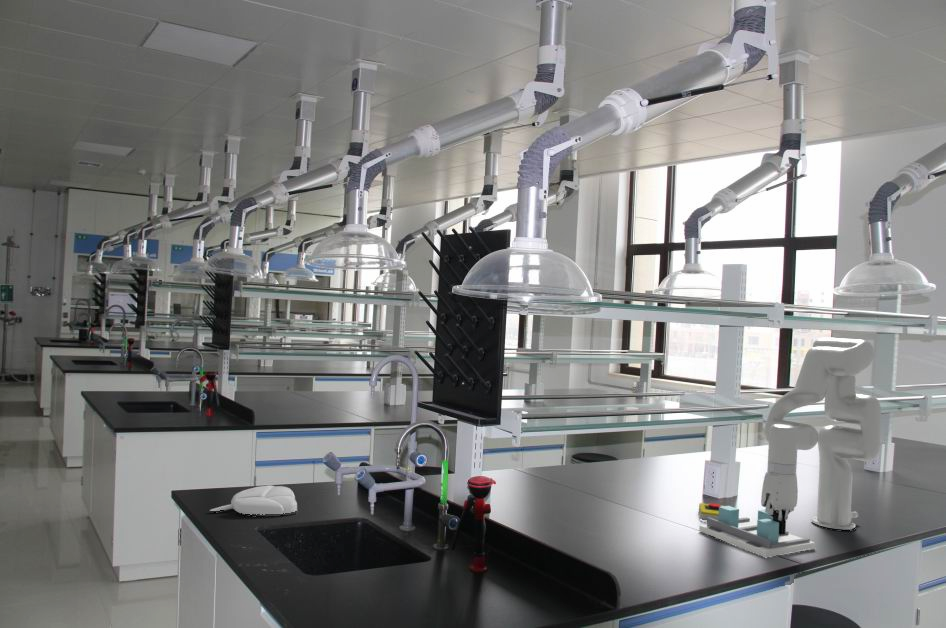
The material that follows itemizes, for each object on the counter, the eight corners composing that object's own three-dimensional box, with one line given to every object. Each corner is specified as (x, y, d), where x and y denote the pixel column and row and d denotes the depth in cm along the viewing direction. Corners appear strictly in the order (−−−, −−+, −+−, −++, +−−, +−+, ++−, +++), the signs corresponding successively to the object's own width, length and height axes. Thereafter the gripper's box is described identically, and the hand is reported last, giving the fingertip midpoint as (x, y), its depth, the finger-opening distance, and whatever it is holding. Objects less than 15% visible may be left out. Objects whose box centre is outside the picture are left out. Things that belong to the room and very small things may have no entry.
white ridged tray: (746, 525, 224) (746, 511, 224) (814, 549, 203) (815, 534, 203) (699, 532, 215) (699, 517, 215) (765, 558, 194) (766, 542, 194)
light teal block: (766, 527, 214) (767, 509, 214) (777, 531, 211) (778, 512, 211) (757, 529, 212) (758, 510, 212) (768, 533, 209) (769, 514, 209)
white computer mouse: (301, 515, 214) (212, 530, 204) (291, 501, 230) (208, 514, 219) (300, 493, 214) (211, 507, 204) (290, 480, 229) (207, 493, 219)
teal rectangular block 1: (727, 523, 216) (728, 505, 216) (738, 527, 213) (739, 509, 213) (718, 525, 214) (718, 506, 214) (728, 529, 211) (729, 510, 211)
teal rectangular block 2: (766, 537, 204) (767, 518, 204) (778, 542, 200) (779, 522, 200) (756, 539, 202) (757, 520, 202) (768, 543, 199) (769, 524, 199)
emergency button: (727, 501, 238) (732, 513, 223) (727, 514, 238) (731, 527, 223) (698, 498, 240) (701, 509, 226) (697, 511, 240) (700, 523, 226)
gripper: (788, 464, 210) (785, 526, 210) (752, 467, 203) (749, 532, 203) (810, 469, 203) (807, 534, 204) (774, 473, 196) (771, 540, 197)
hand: (778, 533), depth 203 cm, fingers closed
